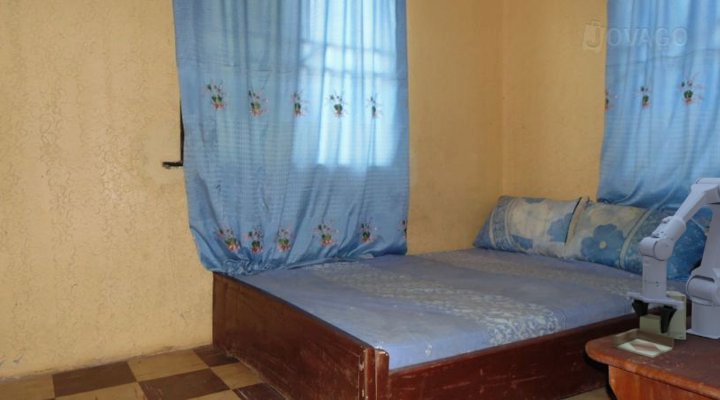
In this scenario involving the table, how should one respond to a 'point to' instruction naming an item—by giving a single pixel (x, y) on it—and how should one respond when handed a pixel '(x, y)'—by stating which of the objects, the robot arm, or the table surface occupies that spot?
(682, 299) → the skincare box
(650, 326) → the olive cube
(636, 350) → the arena
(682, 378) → the table surface
